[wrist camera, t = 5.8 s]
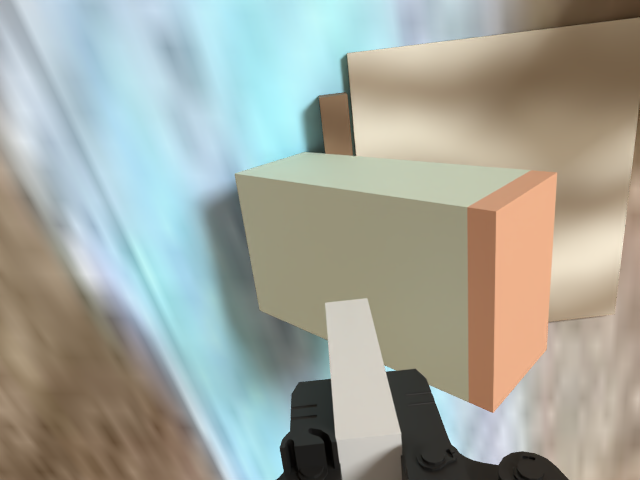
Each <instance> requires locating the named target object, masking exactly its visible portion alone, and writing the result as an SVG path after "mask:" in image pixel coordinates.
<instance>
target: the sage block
mask: <svg viewBox="0 0 640 480" xmlns="http://www.w3.org/2000/svg"><path fill="white" fill-rule="evenodd" d="M235 178H236V184H237V189H238V195H239V200H240V206H241V211H242V217H243V222H244V228H245V233H246V239H247V244H248V250H249V255H250V260H251V266H252V271H253V277H254V282H255V288H256V293H257V299H258V304H259V310H260V311H262V312H264V313H267V314H269V315H271V316H273V317H276V318H278V319H280V320H283V321H285V322H287V323H289V324H292V325H294V326H296V327H299V328H301V329H303V330H305V331H308V332H310V333H312V334H314V335H317V336H319V337H321V338H324V339H326V340H328V334H327V321H326V309H325V303H327V302H337V301H346V300H355V299H364V298H367V299H368V303H369V307H370V311H371V315H372V319H373V323H374V327H375V331H376V335H377V339H378V343H379V347H380V351H381V355H382V359H383V363H384V365H385V366H387V367H390V368H392V369H394V370H396V371H399V370H408V369H416V370H418V371H419V372H420V373H421V374H422V375H423V376H424V377H425V378H426V379H427V382H428V384H429V385H431V386H433V387H435V388H437V389H440V390H442V391H444V392H447V393H449V394H451V395H453V396H456V397H458V398H460V399H463V400H465V401H467V402H469V403H472V404H474V405H476V406H478V407H481V408H483V409H485V410H488V411H490V412H492V413H493V412H494V411H495V410H496V409H497V408H498V406H499V405H500V404H501V403H502V402H503V401H504V399H505V398H506V397H507V396H508V395H509V393H510V392H511V391H512V390H513V389H514V388H515V386H516V385H517V384H518V383H519V382H520V380H521V379H522V378H523V377H524V376H525V374H526V373H527V372H528V371H529V370H530V369H531V367H532V366H533V365H534V364H535V363H536V361H537V360H538V359H539V358H540V357H541V355H542V354H543V353H544V352H545V351H546V350H547V333H548V317H549V300H550V284H551V267H552V251H553V234H554V218H555V201H556V185H557V172H546V171H534V170H521V169H509V168H497V167H484V166H472V165H460V164H447V163H435V162H423V161H410V160H398V159H386V158H373V157H361V156H349V155H336V154H324V153H312V152H303V153H300V154H296V155H293V156H290V157H287V158H283V159H280V160H277V161H274V162H270V163H267V164H264V165H261V166H257V167H254V168H251V169H248V170H245V171H241V172H238V173H235Z"/></svg>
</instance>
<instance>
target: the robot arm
mask: <svg viewBox="0 0 640 480" xmlns="http://www.w3.org/2000/svg"><path fill="white" fill-rule="evenodd" d="M325 309H326V321H327V334H328V347H329V360H330V373H331V379H325V380H316V381H306V382H299V383H298V385H297V386H296V388H295V390H294V391H293V393H292V398H291V423H290V432H289V433H288V434H287V435H286V436H285V437H284V438H283V439H282V442H281V446H280V452H281V458H282V464H283V469H284V472H283V474H282V475H281V476H280V477H279V478H278V479H277V480H569V479H568V478H567V477H566V476H565V475H564V474H563V473H562V472H561V471H560V470H559V469H558V468H557V467H556V466H555V465H554V464H553V463H551V462H550V461H549V460H548V459H546V458H544V457H542V456H540V455H537V454H535V453H529V452H515V453H511V454H509V455H507V456H505V457H504V458H503V459H502V461H501V462H500V464H499V465H493V464H487V463H481V462H477V461H473V460H471V459H469V458H467V457H464V456H463V455H462V454H460V453H459V452H458V451H457V449H456V448H455V447H453V446H452V445H451V443H450V441H449V439H448V436H447V433H446V431H445V428H444V425H443V422H442V420H441V417H440V414H439V411H438V409H437V406H436V404H435V401H434V398H433V395H432V393H431V390H430V387H429V384H428V382H427V379H426V378H425V377H424V376H423V375H422V374H421V373H420V372H419V371H418V370H416V369H408V370H399V371H389V372H386V371H385V367H384V363H383V359H382V355H381V351H380V347H379V343H378V339H377V335H376V331H375V327H374V323H373V319H372V315H371V311H370V307H369V303H368V299H367V298H364V299H355V300H346V301H337V302H327V303H325Z"/></svg>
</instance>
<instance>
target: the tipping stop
mask: <svg viewBox="0 0 640 480" xmlns="http://www.w3.org/2000/svg"><path fill="white" fill-rule="evenodd" d="M347 62H348V74H349V85H350V96H351V108H352V119H353V130H354V141H355V153H356V156H361V157H373V158H386V159H398V160H410V161H423V162H435V163H447V164H460V165H472V166H484V167H497V168H509V169H521V170H534V171H546V172H557V185H556V201H555V218H554V234H553V251H552V267H551V284H550V300H549V317H548V322H552V321H561V320H569V319H578V318H587V317H596V316H604V315H613V314H615V306H616V298H617V289H618V281H619V272H620V264H621V256H622V247H623V239H624V230H625V222H626V214H627V205H628V197H629V188H630V180H631V172H632V163H633V155H634V146H635V138H636V129H637V121H638V113H639V104H640V17H639V18H631V19H622V20H614V21H606V22H598V23H590V24H582V25H573V26H565V27H557V28H549V29H541V30H533V31H525V32H516V33H508V34H500V35H492V36H484V37H476V38H467V39H459V40H451V41H443V42H435V43H427V44H419V45H410V46H402V47H394V48H386V49H378V50H370V51H362V52H353V53H347ZM319 103H320V112H321V121H322V130H323V139H324V148H325V154H336V155H349V156H353V151H352V140H351V129H350V118H349V107H348V96H347V93H346V92H344V93H336V94H328V95H320V96H319Z"/></svg>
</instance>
